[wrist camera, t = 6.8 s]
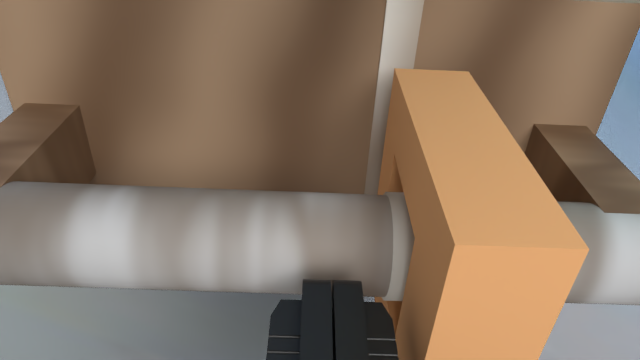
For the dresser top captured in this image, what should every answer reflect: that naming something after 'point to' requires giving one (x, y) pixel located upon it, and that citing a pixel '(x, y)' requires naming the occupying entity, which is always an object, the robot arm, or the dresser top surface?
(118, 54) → the pipe stand
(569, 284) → the collar
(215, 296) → the dresser top surface
